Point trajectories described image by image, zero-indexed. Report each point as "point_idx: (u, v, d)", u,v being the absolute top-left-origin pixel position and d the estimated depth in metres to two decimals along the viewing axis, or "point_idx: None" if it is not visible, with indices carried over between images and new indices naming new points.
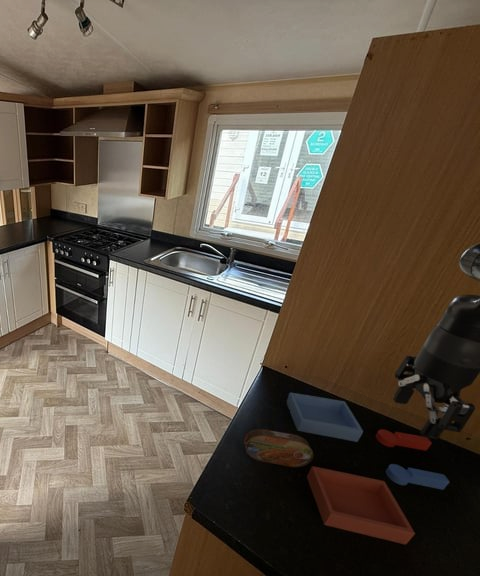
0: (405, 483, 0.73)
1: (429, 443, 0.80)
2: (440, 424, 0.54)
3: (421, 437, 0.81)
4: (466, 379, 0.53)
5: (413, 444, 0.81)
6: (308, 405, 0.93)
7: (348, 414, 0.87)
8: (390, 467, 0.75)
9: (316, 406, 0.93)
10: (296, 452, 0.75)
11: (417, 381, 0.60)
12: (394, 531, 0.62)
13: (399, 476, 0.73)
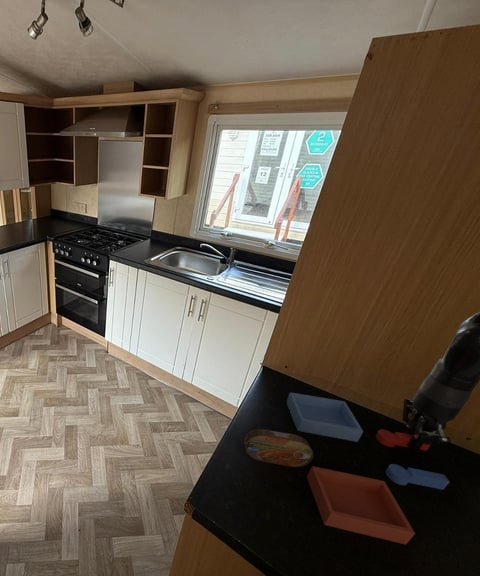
0: (405, 483, 0.73)
1: None
2: (421, 440, 0.77)
3: None
4: (450, 415, 0.73)
5: None
6: (308, 405, 0.93)
7: (348, 414, 0.87)
8: (390, 467, 0.75)
9: (316, 406, 0.93)
10: (296, 452, 0.75)
11: (416, 414, 0.79)
12: (394, 531, 0.62)
13: (399, 476, 0.73)
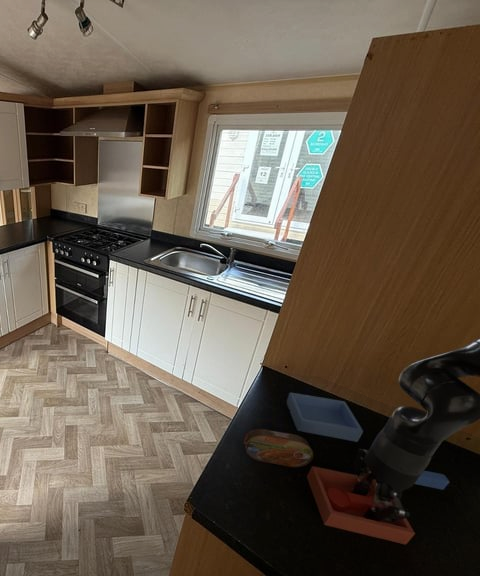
0: None
1: None
2: (378, 514, 0.61)
3: None
4: (406, 483, 0.58)
5: (367, 509, 0.66)
6: (308, 405, 0.93)
7: (348, 414, 0.87)
8: None
9: (316, 406, 0.93)
10: (296, 452, 0.75)
11: (369, 475, 0.65)
12: (394, 531, 0.62)
13: None
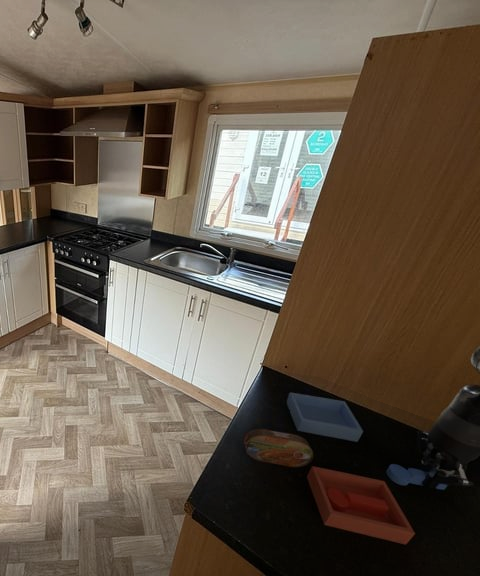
0: (406, 483, 0.73)
1: (386, 509, 0.65)
2: (438, 479, 0.68)
3: (377, 501, 0.66)
4: (472, 455, 0.64)
5: (367, 509, 0.66)
6: (308, 405, 0.93)
7: (348, 414, 0.87)
8: (391, 467, 0.75)
9: (316, 406, 0.93)
10: (296, 452, 0.75)
11: (432, 450, 0.70)
12: (394, 531, 0.62)
13: (400, 476, 0.73)
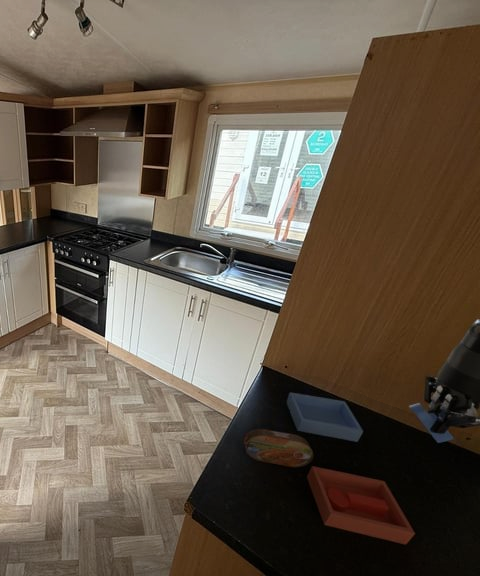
0: (426, 422, 0.67)
1: (386, 509, 0.65)
2: (448, 422, 0.65)
3: (377, 501, 0.66)
4: None
5: (367, 509, 0.66)
6: (308, 405, 0.93)
7: (348, 414, 0.87)
8: (420, 404, 0.69)
9: (316, 406, 0.93)
10: (296, 452, 0.75)
11: (442, 392, 0.66)
12: (394, 531, 0.62)
13: (428, 414, 0.67)
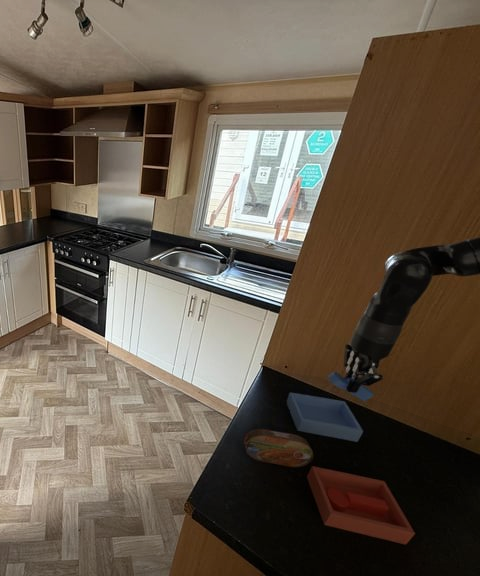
0: (342, 387, 0.80)
1: (386, 509, 0.65)
2: (357, 380, 0.77)
3: (377, 501, 0.66)
4: (382, 352, 0.72)
5: (367, 509, 0.66)
6: (308, 405, 0.93)
7: (348, 414, 0.87)
8: (334, 373, 0.82)
9: (316, 406, 0.93)
10: (296, 452, 0.75)
11: (354, 357, 0.79)
12: (394, 531, 0.62)
13: (340, 379, 0.80)
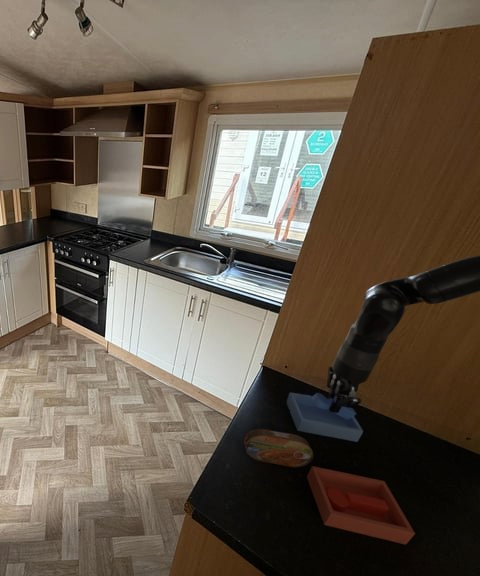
0: (324, 407, 0.85)
1: (386, 509, 0.65)
2: (338, 402, 0.82)
3: (377, 501, 0.66)
4: (361, 377, 0.77)
5: (367, 509, 0.66)
6: (308, 405, 0.93)
7: None
8: (317, 394, 0.87)
9: (316, 406, 0.93)
10: (296, 452, 0.75)
11: (335, 379, 0.84)
12: (394, 531, 0.62)
13: (322, 401, 0.85)
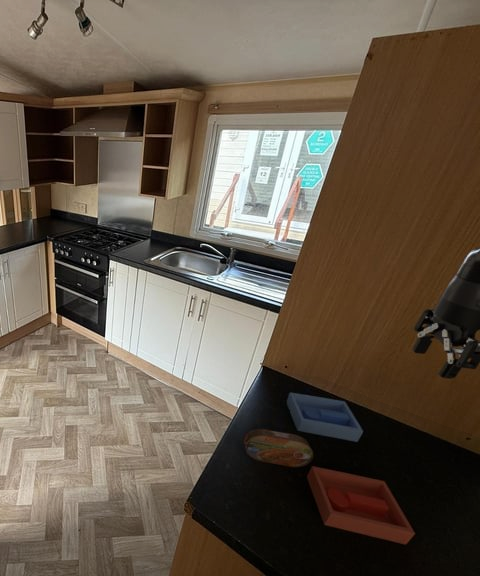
0: None
1: (386, 509, 0.65)
2: (458, 362, 0.62)
3: (377, 501, 0.66)
4: None
5: (367, 509, 0.66)
6: (308, 405, 0.93)
7: (348, 414, 0.87)
8: (305, 409, 0.90)
9: (316, 406, 0.93)
10: (296, 452, 0.75)
11: (436, 329, 0.67)
12: (394, 531, 0.62)
13: (310, 415, 0.88)
